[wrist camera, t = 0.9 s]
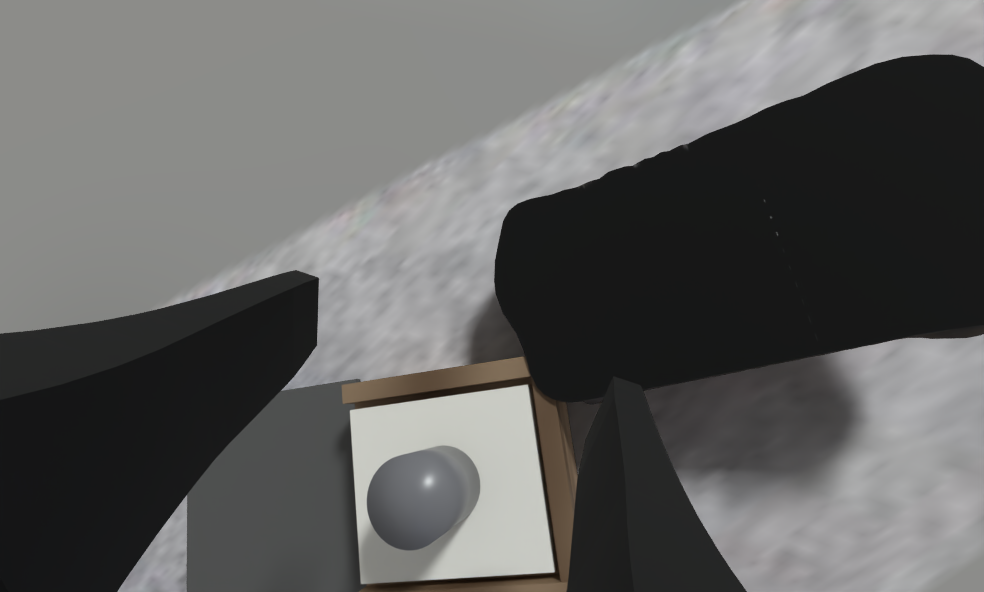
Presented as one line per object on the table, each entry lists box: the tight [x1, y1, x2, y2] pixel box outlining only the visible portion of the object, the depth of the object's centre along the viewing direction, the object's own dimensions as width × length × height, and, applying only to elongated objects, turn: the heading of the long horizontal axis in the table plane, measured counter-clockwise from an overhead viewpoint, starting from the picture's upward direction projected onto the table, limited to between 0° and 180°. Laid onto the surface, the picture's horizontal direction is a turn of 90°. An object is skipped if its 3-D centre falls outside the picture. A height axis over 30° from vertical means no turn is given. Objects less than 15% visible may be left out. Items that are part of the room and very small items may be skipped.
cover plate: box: [350, 385, 557, 584], centre depth 19 cm, size 8×7×4 cm
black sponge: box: [494, 55, 984, 404], centre depth 18 cm, size 16×8×4 cm, turn 100°
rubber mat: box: [187, 379, 367, 592], centre depth 26 cm, size 10×10×1 cm
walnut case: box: [342, 356, 578, 592], centre depth 22 cm, size 9×9×4 cm
